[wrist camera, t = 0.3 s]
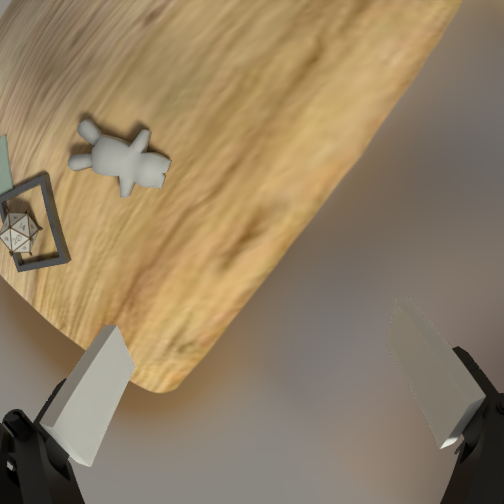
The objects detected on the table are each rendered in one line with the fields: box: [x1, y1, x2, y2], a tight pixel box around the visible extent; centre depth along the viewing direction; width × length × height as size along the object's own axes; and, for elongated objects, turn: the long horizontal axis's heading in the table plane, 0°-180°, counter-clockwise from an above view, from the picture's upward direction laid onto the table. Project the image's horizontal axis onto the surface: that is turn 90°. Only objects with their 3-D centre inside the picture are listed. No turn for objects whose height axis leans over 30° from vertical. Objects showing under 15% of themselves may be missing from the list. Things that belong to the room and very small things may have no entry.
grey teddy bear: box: [68, 118, 172, 198], centre depth 33 cm, size 10×5×15 cm
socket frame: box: [0, 174, 71, 272], centre depth 38 cm, size 15×15×2 cm
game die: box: [0, 208, 42, 256], centre depth 35 cm, size 9×8×10 cm
